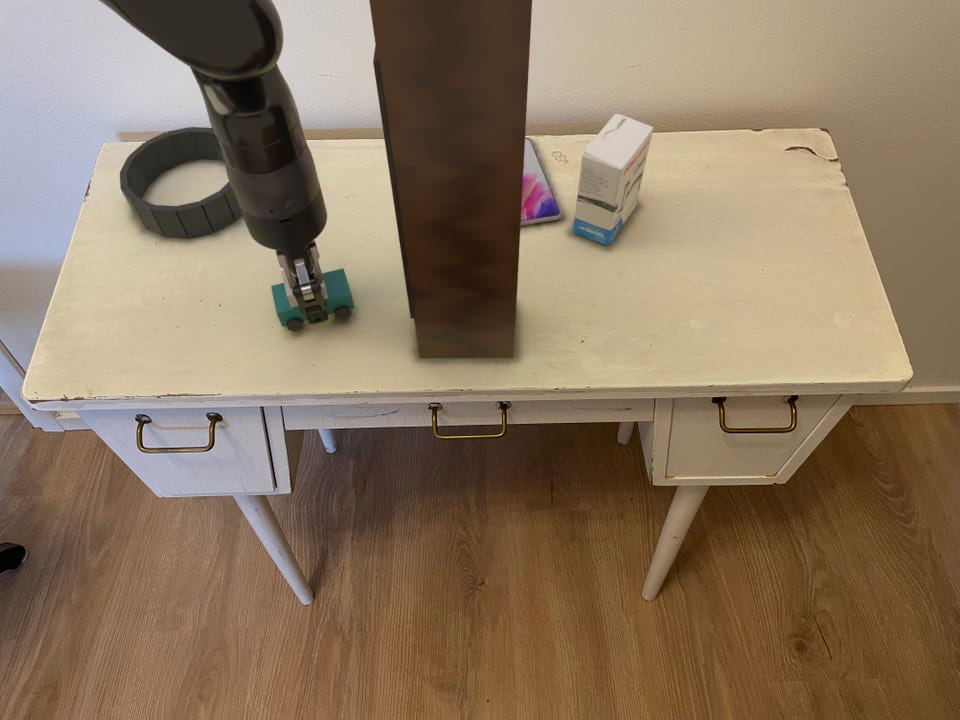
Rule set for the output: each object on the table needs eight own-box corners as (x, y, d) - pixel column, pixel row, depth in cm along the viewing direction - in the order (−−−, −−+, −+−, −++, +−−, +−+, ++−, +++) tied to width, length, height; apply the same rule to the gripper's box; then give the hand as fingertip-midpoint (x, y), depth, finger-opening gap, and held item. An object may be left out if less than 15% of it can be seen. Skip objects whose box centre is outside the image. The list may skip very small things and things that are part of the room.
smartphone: (530, 136, 95) (563, 215, 87) (530, 141, 96) (562, 220, 88) (476, 143, 94) (504, 224, 86) (476, 148, 95) (504, 229, 87)
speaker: (416, 359, 77) (361, -14, 44) (419, 305, 81) (371, -73, 48) (513, 358, 77) (533, -15, 44) (512, 305, 81) (528, -75, 48)
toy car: (284, 334, 78) (272, 304, 74) (277, 301, 81) (265, 270, 77) (356, 315, 80) (349, 285, 75) (347, 283, 82) (339, 252, 78)
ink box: (607, 248, 85) (622, 170, 76) (570, 232, 87) (580, 154, 77) (638, 204, 89) (656, 125, 80) (602, 189, 91) (615, 110, 81)
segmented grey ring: (138, 250, 86) (122, 223, 82) (132, 169, 94) (117, 141, 90) (263, 221, 88) (253, 194, 85) (246, 145, 96) (237, 117, 92)
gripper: (225, 145, 69) (270, 266, 83) (245, 251, 61) (291, 364, 75) (304, 129, 70) (335, 250, 84) (333, 231, 62) (362, 346, 76)
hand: (314, 304), depth 80 cm, fingers closed on toy car, 4 cm apart
